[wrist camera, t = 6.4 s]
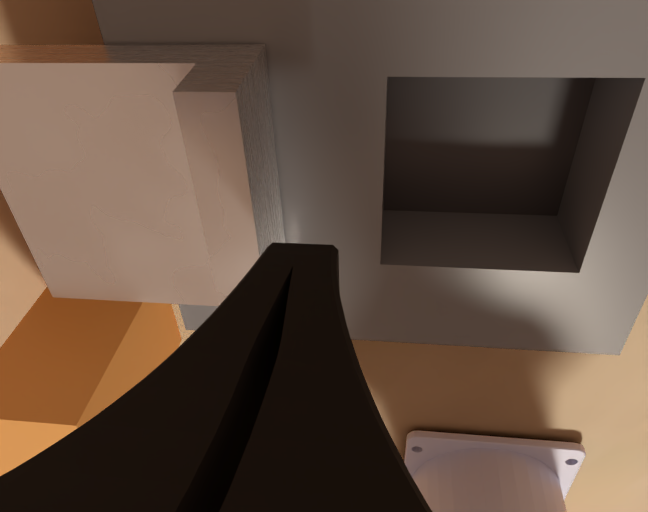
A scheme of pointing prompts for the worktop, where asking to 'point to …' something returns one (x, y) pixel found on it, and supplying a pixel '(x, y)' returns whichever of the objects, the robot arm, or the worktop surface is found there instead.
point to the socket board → (451, 157)
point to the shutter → (140, 167)
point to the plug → (74, 366)
